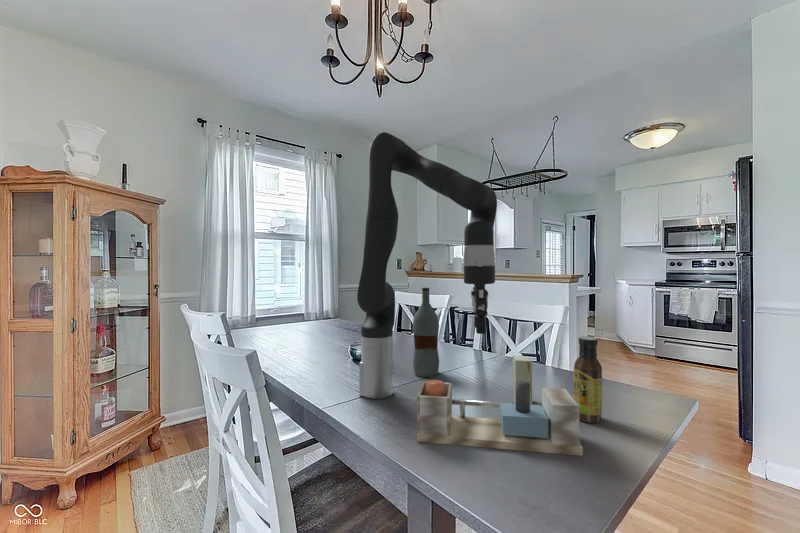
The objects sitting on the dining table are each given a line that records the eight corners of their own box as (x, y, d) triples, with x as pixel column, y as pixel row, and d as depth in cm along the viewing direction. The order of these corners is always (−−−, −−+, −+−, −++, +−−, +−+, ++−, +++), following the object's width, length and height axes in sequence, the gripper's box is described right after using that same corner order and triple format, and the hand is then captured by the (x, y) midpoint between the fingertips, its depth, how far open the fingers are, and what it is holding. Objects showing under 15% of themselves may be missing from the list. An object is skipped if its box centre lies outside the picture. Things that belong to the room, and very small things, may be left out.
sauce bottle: (567, 413, 90) (567, 335, 90) (591, 412, 91) (590, 334, 91) (583, 425, 84) (582, 340, 84) (608, 423, 84) (607, 339, 84)
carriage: (503, 434, 75) (502, 387, 75) (500, 420, 82) (499, 376, 82) (548, 438, 73) (548, 389, 73) (541, 423, 80) (541, 378, 80)
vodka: (435, 378, 118) (434, 288, 118) (409, 376, 122) (408, 288, 122) (442, 371, 127) (441, 287, 127) (417, 368, 130) (417, 286, 130)
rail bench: (416, 441, 76) (416, 397, 76) (423, 419, 87) (422, 380, 87) (583, 455, 70) (582, 407, 70) (567, 430, 81) (567, 388, 81)
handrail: (452, 417, 85) (451, 400, 85) (452, 415, 86) (452, 398, 86) (542, 424, 81) (542, 406, 81) (541, 421, 82) (541, 404, 82)
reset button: (425, 403, 79) (425, 385, 79) (427, 396, 83) (427, 379, 83) (443, 404, 79) (443, 386, 79) (444, 397, 83) (444, 380, 83)
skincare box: (532, 407, 94) (532, 361, 94) (515, 406, 95) (515, 360, 95) (529, 399, 100) (528, 355, 100) (512, 397, 101) (512, 354, 101)
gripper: (463, 265, 95) (464, 325, 95) (464, 264, 81) (464, 335, 81) (492, 264, 94) (492, 326, 94) (498, 263, 80) (499, 336, 80)
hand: (480, 330), depth 87 cm, fingers open, 8 cm apart
